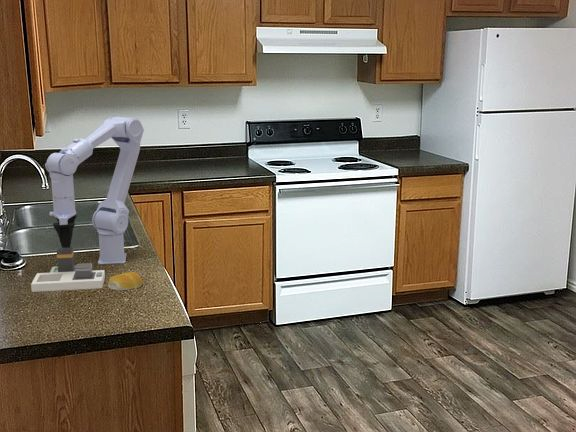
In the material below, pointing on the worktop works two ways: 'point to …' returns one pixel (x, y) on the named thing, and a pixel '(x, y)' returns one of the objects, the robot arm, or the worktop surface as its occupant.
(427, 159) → the worktop surface
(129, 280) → the bread roll
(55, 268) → the tray
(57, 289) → the strip
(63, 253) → the plug
